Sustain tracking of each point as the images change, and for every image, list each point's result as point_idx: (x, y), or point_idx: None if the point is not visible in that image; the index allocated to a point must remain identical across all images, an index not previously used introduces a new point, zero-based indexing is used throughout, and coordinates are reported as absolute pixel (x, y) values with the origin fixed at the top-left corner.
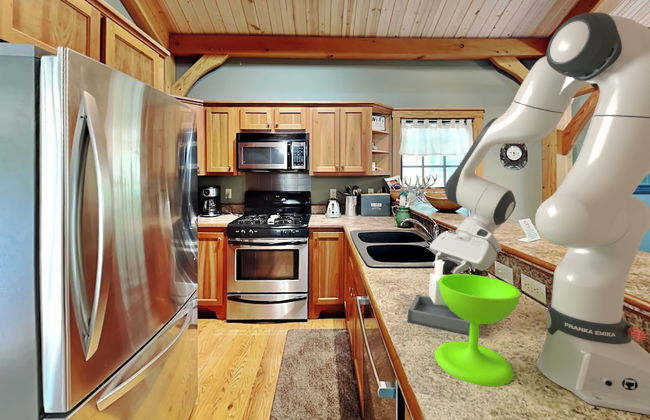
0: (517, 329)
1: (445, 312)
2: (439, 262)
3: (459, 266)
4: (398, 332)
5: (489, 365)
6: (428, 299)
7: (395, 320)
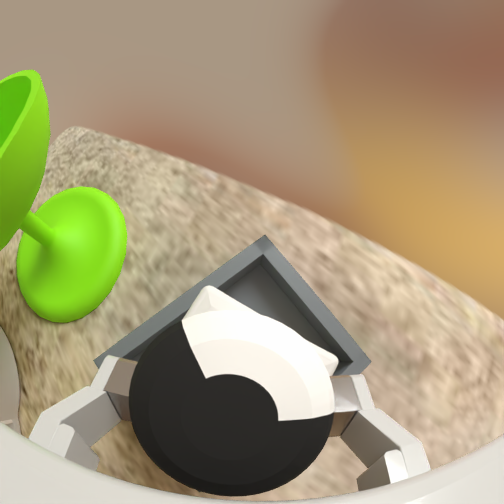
0: None
1: None
2: (237, 329)
3: (77, 397)
4: (224, 193)
5: (35, 251)
6: None
7: (284, 226)
